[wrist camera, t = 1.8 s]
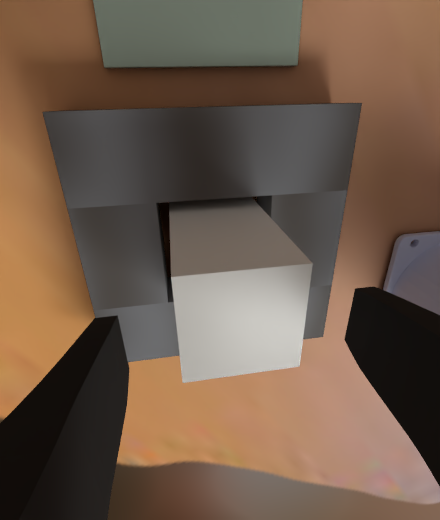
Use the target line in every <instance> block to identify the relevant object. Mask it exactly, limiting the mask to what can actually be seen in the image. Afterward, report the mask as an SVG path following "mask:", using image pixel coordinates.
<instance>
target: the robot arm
mask: <svg viewBox="0 0 440 520" xmlns="http://www.w3.org/2000/svg"><path fill="white" fill-rule="evenodd" d="M413 240H414V241H413ZM412 241H413V243H412V244H411V242H412ZM345 341H346V343H347V345H348V347H349V349H350V351H351V353H352V355H353V357H354V359H355V360H356V362H357V364H358V366H359V368H360V369H361V371H362V372H363V373H364V375H365V376H366V378H367V379H368V381H369V382H370V383H371V385H372V386H373V388H374V389H375V390H376V392H377V393H378V395H379V396H380V397H381V399H382V400H383V402H384V403H385V404H386V406H387V407H388V408H389V410H390V411H391V413H392V414H393V415H394V417H395V418H396V420H397V421H398V422H399V424H400V425H401V426H402V428H403V429H404V431H405V432H406V433H407V435H408V436H409V438H410V439H411V441H412V442H413V444H414V445H415V447H416V448H417V450H418V451H419V453H420V454H421V456H422V457H423V459H424V461H425V462H426V464H427V466H428V467H429V469H430V471H431V473H432V474H433V476H434V478H435V479H436V481H437V483H438V484H439V486H440V231H434V232H423V233H412V234H403V235H401V236H399V237H398V238H397V240H396V242H395V245H394V249H393V253H392V257H391V260H390V264H389V268H388V272H387V276H386V280H385V284H384V288H383V290H381V289H379V288H376V287H366V288H357V289H355V292H354V297H353V302H352V307H351V311H350V316H349V321H348V326H347V330H346V335H345ZM128 382H129V365H128V361H127V356H126V351H125V347H124V342H123V338H122V333H121V328H120V324H119V319H118V315H117V316H108V317H99V318H95V319H94V320H93V321H92V322H91V323H90V325H89V326H88V327H87V328H86V329H85V330H84V332H83V333H82V334H81V335H80V336H79V338H78V339H77V340H76V341H75V343H74V344H73V345H72V346H71V347H70V348H69V350H68V351H67V352H66V353H65V354H64V356H63V357H62V358H61V359H60V360H59V361H58V362H57V364H56V365H55V366H54V367H53V368H52V369H51V370H50V372H49V373H48V374H47V375H46V376H45V377H44V378H43V380H42V381H41V382H40V383H39V384H38V385H37V386H36V387H35V388H34V389H33V390H32V391H31V392H30V393H29V394H28V395H27V397H26V398H25V399H24V400H23V401H22V402H21V403H20V404H19V405H18V406H17V407H16V408H15V409H14V410H13V411H12V412H11V413H10V414H9V415H8V416H7V417H6V418H5V419H4V420H3V421H2V422H1V423H0V520H107V518H108V510H109V503H110V496H111V489H112V483H113V479H114V473H115V468H116V462H117V457H118V451H119V446H120V440H121V435H122V429H123V424H124V418H125V412H126V406H127V397H128Z"/></svg>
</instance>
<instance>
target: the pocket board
mask: <svg viewBox="0 0 440 520" xmlns="http://www.w3.org/2000/svg"><path fill="white" fill-rule="evenodd" d="M361 106H362V103H324V104H288V105H251V106H215V107H178V108H142V109H105V110H69V111H49V112H43V116H44V120H45V124H46V128H47V131H48V135H49V139H50V143H51V147H52V151H53V155H54V159H55V162H56V166H57V170H58V174H59V178H60V182H61V186H62V190H63V193H64V197H65V201H66V205H67V209H68V213H69V217H70V221H71V224H72V228H73V232H74V236H75V240H76V244H77V248H78V252H79V255H80V259H81V263H82V267H83V271H84V275H85V279H86V283H87V287H88V290H89V294H90V298H91V302H92V306H93V310H94V314H95V318H99V317H108V316H117V315H118V319H119V324H120V328H121V333H122V338H123V342H124V347H125V351H126V356H127V361H128V362H133V361H140V360H148V359H156V358H163V357H171V356H179V355H180V353H179V344H178V335H177V326H176V317H175V308H174V299H173V290H172V281H171V277H168V274H167V266H166V257H165V248H164V240H163V231H162V223H161V214H160V205H159V203H163V202H178V201H193V200H208V199H223V198H238V197H254V196H257V204H258V205H259V206H260V207H261V208H262V209H263V210H264V211H265V212H266V213H267V214H268V215H269V217H270V218H271V219H272V220H273V221H274V222H275V223H276V224H277V225H278V226H279V227H280V228H281V230H282V231H283V232H284V233H285V234H286V235H287V236H288V237H289V238H290V239H291V240H292V241H293V243H294V244H295V245H296V246H297V247H298V248H299V249H300V250H301V251H302V252H303V253H304V254H305V256H306V257H307V258H308V259H309V260H310V261H311V262H312V263H313V266H312V273H311V281H310V289H309V297H308V304H307V312H306V320H305V328H304V335H303V339H310V338H317V337H323V334H324V328H325V322H326V316H327V310H328V304H329V298H330V292H331V286H332V280H333V274H334V268H335V262H336V256H337V250H338V244H339V238H340V232H341V226H342V220H343V214H344V208H345V202H346V196H347V190H348V184H349V178H350V172H351V166H352V160H353V154H354V148H355V142H356V136H357V130H358V124H359V118H360V112H361Z"/></svg>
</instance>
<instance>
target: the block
mask: <svg viewBox="0 0 440 520" xmlns="http://www.w3.org/2000/svg"><path fill="white" fill-rule="evenodd" d="M169 219H170V255H171V281H172V290H173V299H174V308H175V317H176V326H177V335H178V344H179V353H180V362H181V371H182V381H183V383H186V382H193V381H200V380H207V379H214V378H221V377H228V376H235V375H242V374H249V373H257V372H264V371H271V370H278V369H285V368H292V367H299V366H300V359H301V351H302V343H303V335H304V328H305V320H306V312H307V304H308V297H309V289H310V281H311V273H312V266H313V263H312V262H311V261H310V260H309V259H308V258H307V257H306V256H305V254H304V253H303V252H302V251H301V250H300V249H299V248H298V247H297V246H296V245H295V244H294V243H293V241H292V240H291V239H290V238H289V237H288V236H287V235H286V234H285V233H284V232H283V231H282V230H281V228H280V227H279V226H278V225H277V224H276V223H275V222H274V221H273V220H272V219H271V218H270V217H269V215H268V214H267V213H266V212H265V211H264V210H263V209H262V208H261V207H260V206H259V205H258V204H257V202H256V201H255V200H254V199H253V198H252V197H238V198H223V199H208V200H193V201H178V202H169Z"/></svg>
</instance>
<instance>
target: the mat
mask: <svg viewBox="0 0 440 520" xmlns="http://www.w3.org/2000/svg"><path fill="white" fill-rule="evenodd" d="M302 2H303V0H93V3H94V9H95V15H96V21H97V27H98V33H99V39H100V45H101V51H102V57H103V63H104V67H105V68H173V67H265V66H296V65H298V53H299V40H300V27H301V15H302Z"/></svg>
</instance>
